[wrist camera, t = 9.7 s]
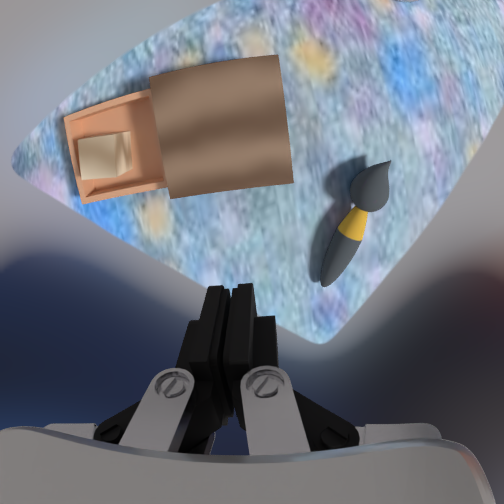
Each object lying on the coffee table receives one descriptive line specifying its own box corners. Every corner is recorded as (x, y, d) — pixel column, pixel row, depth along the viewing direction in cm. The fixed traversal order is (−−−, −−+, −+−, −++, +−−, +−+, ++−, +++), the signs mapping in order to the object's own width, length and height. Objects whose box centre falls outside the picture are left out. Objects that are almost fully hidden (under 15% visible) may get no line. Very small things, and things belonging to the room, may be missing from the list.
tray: (79, 115, 34) (63, 117, 30) (164, 89, 33) (154, 87, 29) (95, 195, 39) (82, 204, 35) (179, 179, 38) (171, 186, 35)
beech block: (113, 134, 30) (130, 131, 34) (77, 139, 30) (97, 135, 34) (116, 177, 32) (132, 168, 36) (81, 180, 32) (100, 171, 37)
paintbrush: (344, 286, 45) (352, 305, 40) (313, 280, 44) (319, 299, 40) (389, 159, 36) (405, 166, 32) (356, 147, 36) (369, 152, 31)
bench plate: (165, 81, 33) (148, 77, 27) (275, 63, 32) (278, 54, 26) (182, 186, 39) (170, 199, 33) (288, 172, 37) (293, 183, 32)
